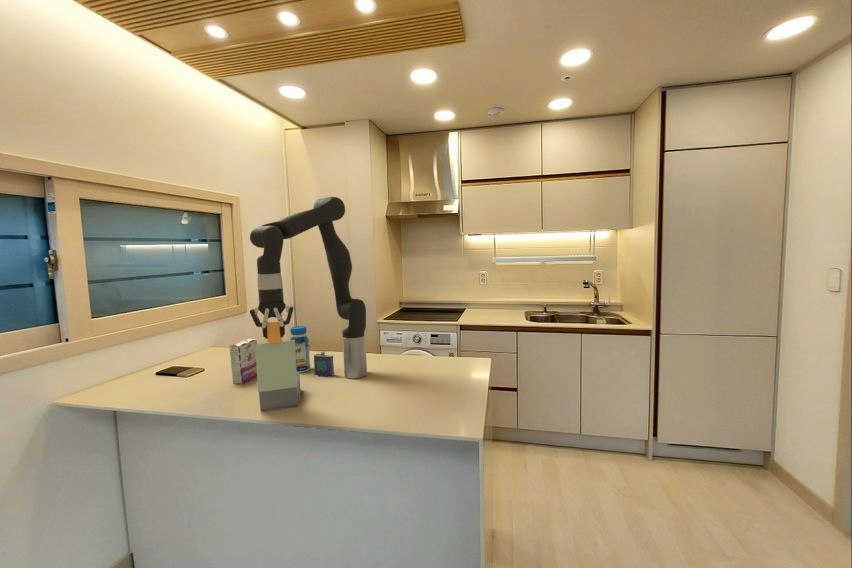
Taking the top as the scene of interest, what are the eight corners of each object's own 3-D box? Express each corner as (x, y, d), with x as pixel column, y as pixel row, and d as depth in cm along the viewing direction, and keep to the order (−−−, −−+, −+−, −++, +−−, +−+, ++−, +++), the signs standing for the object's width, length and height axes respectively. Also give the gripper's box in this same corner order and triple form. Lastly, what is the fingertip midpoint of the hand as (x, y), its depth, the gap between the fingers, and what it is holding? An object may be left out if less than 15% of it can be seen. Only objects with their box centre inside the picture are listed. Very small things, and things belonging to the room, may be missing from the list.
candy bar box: (250, 374, 159) (247, 338, 158) (260, 375, 158) (257, 338, 157) (231, 383, 149) (228, 345, 147) (242, 384, 148) (239, 345, 146)
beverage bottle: (314, 368, 165) (312, 326, 163) (299, 374, 158) (296, 329, 156) (302, 366, 169) (299, 324, 167) (287, 371, 162) (284, 328, 160)
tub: (300, 389, 140) (299, 372, 139) (298, 406, 124) (296, 386, 124) (267, 394, 136) (265, 376, 136) (260, 411, 121) (258, 391, 120)
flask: (335, 374, 156) (333, 350, 155) (331, 377, 153) (330, 352, 152) (316, 373, 158) (315, 349, 157) (312, 375, 155) (311, 351, 154)
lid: (293, 319, 125) (292, 320, 121) (297, 385, 125) (296, 388, 121) (255, 322, 122) (252, 323, 118) (258, 390, 121) (256, 393, 118)
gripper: (294, 284, 124) (297, 333, 126) (249, 287, 120) (253, 336, 122) (292, 287, 117) (296, 338, 119) (244, 289, 113) (249, 342, 115)
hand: (274, 337), depth 121 cm, fingers closed on lid, 4 cm apart
